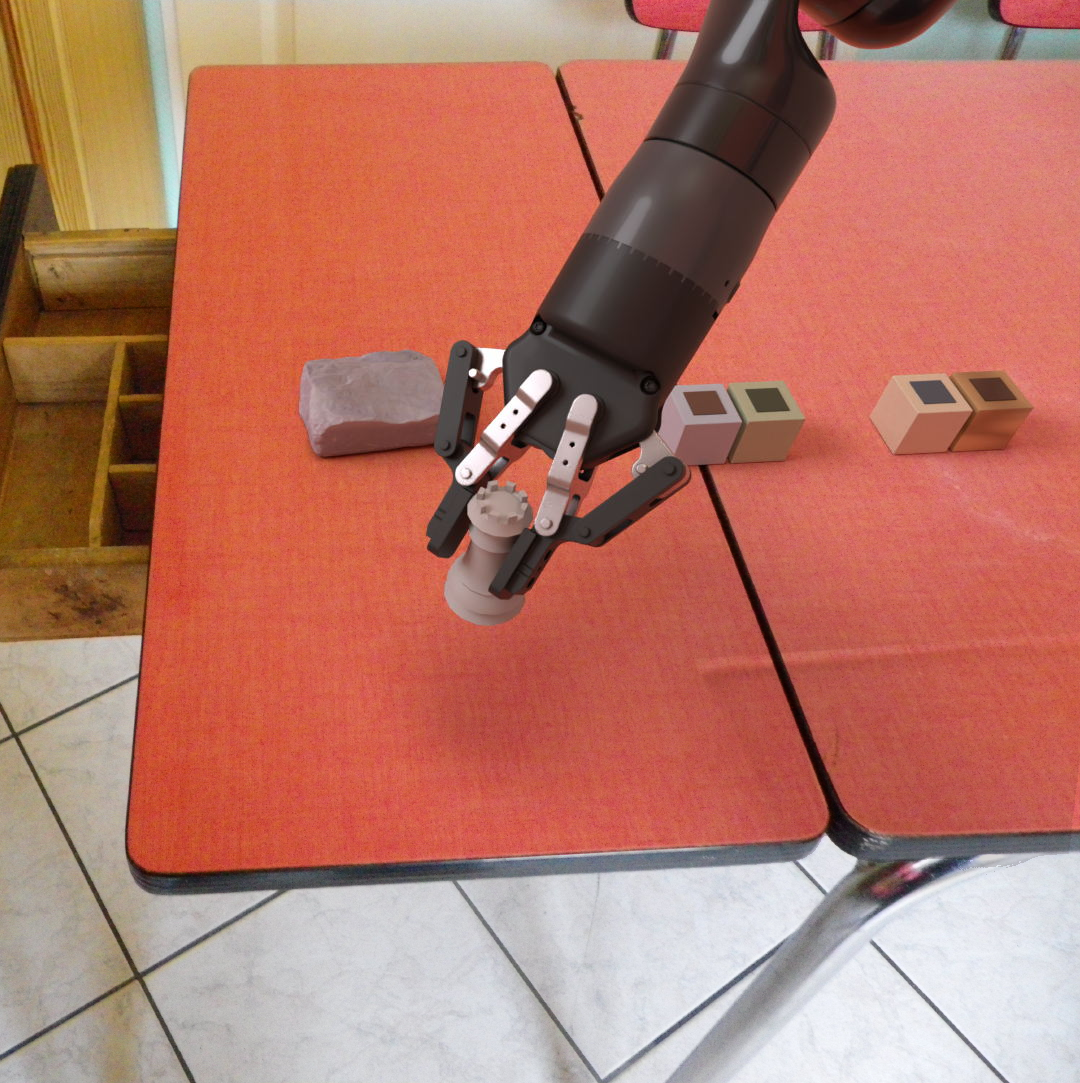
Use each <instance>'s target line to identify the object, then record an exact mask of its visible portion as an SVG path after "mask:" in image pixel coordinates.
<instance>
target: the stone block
mask: <svg viewBox="0 0 1080 1083" xmlns="http://www.w3.org/2000/svg"><path fill="white" fill-rule="evenodd" d="M444 385H445V383H444V382H443V379H442V376H441V372H440V370H439V368H438V366H437V364H436V361H435V360H433V358H432V357H431V356H429V355H424V354H423V353H422V352H420V351H415V350H412V349H401V350H398V351H390V350H382V351H381V350H380V351H373V352H368V353H365V354H363V355H361V356H346V357H339V358H336V359H335V358H328V357H327V358H318V359H317V358H316V359H313V360H312V359H311V360H307V361H305V364H304V365H303V368H302V373H301V376H300V384H299V402H298V413H299V416H300V418H301V419H302V421H303V423H304V426H305V427H306V430H307V432H308V433H307V434H308V439H309V443H310V445H311V450H313V452H314V454H315V455H316V456H319V457H323V458H324V457H336V456H343V455H354V454H361V453H362V454H363V453H371V452H375V451H376V452H377V451H389V450H394V449H399V448H405V447H406V448H407V447H422V446H429V445H434V442H435V436H436V430H437V425H438V419H439V413H440V408H441V402H442V396H443V391H444Z"/></svg>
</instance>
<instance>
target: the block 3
mask: <svg viewBox="0 0 1080 1083" xmlns="http://www.w3.org/2000/svg"><path fill="white" fill-rule="evenodd" d="M949 377H950V376H948V374H947V373H946V372H941V373H939V372H937V373H918V374H898V375H897V374H895V375H894V374H893V375H891V377H890V379H889V381H888V383H887V385H886V387H885V388H884V390H883V391H882V393H881V395H880V397H879V399H878V401H877V402H876V404H875V406H874V408H873V410H872V411H871V413H870V415H869V419H870V421H871V423H872V424H873V425H874V427H875V429H876V430H877V432H878V433H879V436H880V437H881V438H882V439H883V441H884V443H885V444H886V446H887V447H888V449H889V451H890V452H891V454H892V455H894V456H895V455H911V454H914V455H915V454H928V453H929V454H935V453H946V452H947V451H948V450H949V446H950V444H951V443H952V441H953V440H954V438H955V437H956V435H957V434H958V432H959V431H960V429H961V428H962V426H963V425H964V423H965V422H966V420H967V419H968V417H969V416H970V414H971V413H972V411H973V410H972V409H971V407H970V406H969V404H968V403H967V402H966V400H965V399H964V398H963V396H962V395H961V394H960V392H959V391H958V390H957V388H956V387H955V386H954V384H953V383H952V381H951V380H950V379H949Z"/></svg>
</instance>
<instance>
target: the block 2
mask: <svg viewBox="0 0 1080 1083" xmlns="http://www.w3.org/2000/svg"><path fill="white" fill-rule="evenodd" d="M726 391H727V393H728V395H729V397H730V399H731V401H732V403H733V405H734V407H735V409H736V411H737V413H738V414H739V416H740V418H741V420H742V424H741V426H740V428H739V431H738V433H737V435H736V438H735V440H734V442H733V445H732V447H731V449H730V451H729V454H728V456H727V458H728V461H729V463H730V464H744V463H745V464H747V463H762V462H763V463H765V462H782V461H786V460H787V457H788V456H789V453H790V451H791V449H792V448H793V445H794V444H795V441H796V439H797V437H798V435H799V433H800V432H801V429H802V427H803V425H804V424H805V421H806V417H805V414H804V413H803V411H802V410H801V408H800V406H799V404H798V403H797V401H796V399H795V398H794V396H793V394H792V392H791V390H790V389H789V387H788V385H787V383H786V382H785V380H766V381H765V380H764V381H762V380H761V381H740V382H739V381H738V382H729V383H728V385H727V388H726Z"/></svg>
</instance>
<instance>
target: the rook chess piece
mask: <svg viewBox="0 0 1080 1083" xmlns="http://www.w3.org/2000/svg"><path fill="white" fill-rule="evenodd" d="M505 483H506V485H505V486H502V485H501V486H500V485H499V481H498V480H494V481H490V482H488V485H487V489H484V488H483V487H481V488H480V489H479V491H478V493H477V494H475V495H474V496H473V497H472V498H471V500H470V502H469V503H468V516H469V518H470V520H471V523H470V525H469V530H468V535H469V537H470V540H469V543H468V546H467V548H466V550H465V551H463V552H462V553H461V555H460V556H458V557H456V558H455V559H454V561H453V562H452V564H451V566H450V568H449V569H448V571H447V574H446V580H445V582H444V587H443V588H444V589H443V590H444V593H443V596H444V598H445V600H446V602H447V605H448V607H449V609H450V610H451V611H453V613H455V614H456V615H457V616H458V617H459V618H461V619H462V620H464V621H466V622H468V623H471V624H473V625H476V626H482V627H483V626H485V627H495V626H498V625H501V624H505V623H509V622H510V621H512V620H513V619H514V618H515V617H517V616H518V615H519V614H521V612H522V610H523V608H524V605H525V603H526V594H527V593H525V594H524V595H514V596H513V597H512V598H511V599H509V600H500V599H498V598H497V597H495V596H494V595H492V594H491V593H490V592H488V588H489V586H490V584H491V582H492V581H493V579H494V577H495V576H496V574H497V572H498V571H499V569H500V568H501V566H502V564H503V563H504V561H505V559H506V558H507V556H508V554H509V553H510V551H511V550H512V548H513V546H514V545H515V543H516V541H517V540H518V538H519V536H520V535H521V533H522V531H523V530H524V528H529V529H530V527H531V524H532V522H533V520H534V509H533V507H532V505H531V504H530V502H529V500H528V499H529V496H528V494H527V492H526V491H525V489H521V490H519V491H517V490H516V489H517V483H515V482H513V481H510V480H506V482H505Z"/></svg>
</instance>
